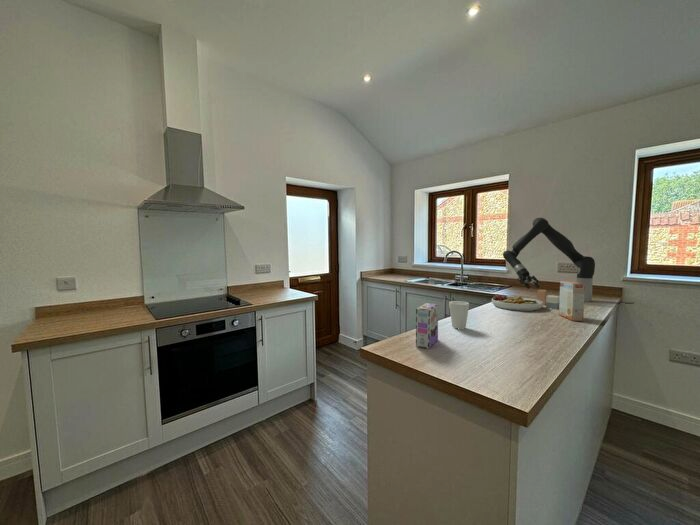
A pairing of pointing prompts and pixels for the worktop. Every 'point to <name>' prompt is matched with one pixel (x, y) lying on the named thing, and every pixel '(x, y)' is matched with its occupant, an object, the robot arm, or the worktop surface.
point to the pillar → (542, 295)
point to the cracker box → (571, 300)
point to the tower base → (552, 305)
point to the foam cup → (459, 313)
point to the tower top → (552, 299)
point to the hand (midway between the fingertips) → (534, 287)
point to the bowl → (516, 303)
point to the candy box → (426, 325)
